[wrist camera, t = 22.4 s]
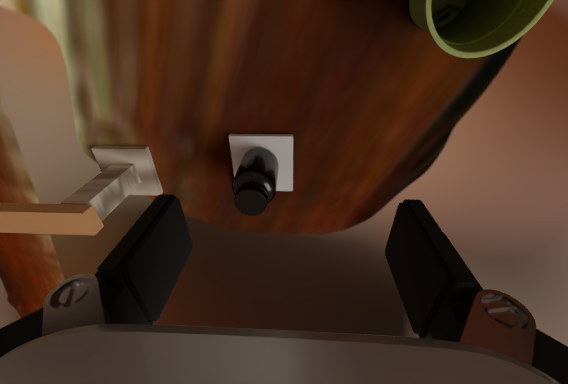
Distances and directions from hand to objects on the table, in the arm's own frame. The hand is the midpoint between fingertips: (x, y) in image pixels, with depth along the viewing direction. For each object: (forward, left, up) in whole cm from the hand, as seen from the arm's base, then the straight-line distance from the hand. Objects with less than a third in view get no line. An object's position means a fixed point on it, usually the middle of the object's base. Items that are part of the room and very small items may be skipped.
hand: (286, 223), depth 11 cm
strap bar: (+16, -41, -19) cm, 48 cm away
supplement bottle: (+14, -6, -32) cm, 36 cm away
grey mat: (+14, -6, -33) cm, 37 cm away
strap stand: (+16, -32, -33) cm, 49 cm away
